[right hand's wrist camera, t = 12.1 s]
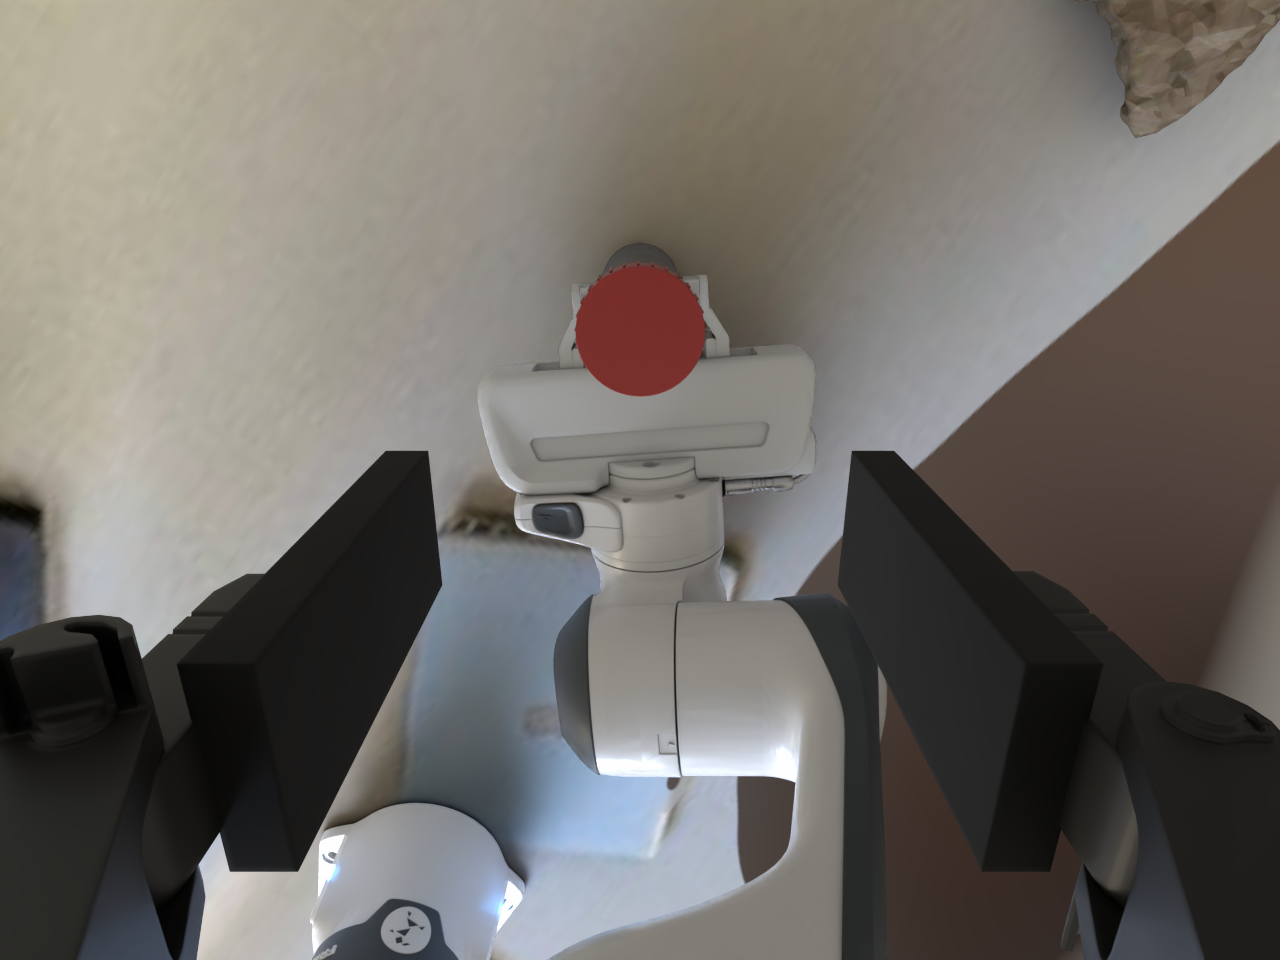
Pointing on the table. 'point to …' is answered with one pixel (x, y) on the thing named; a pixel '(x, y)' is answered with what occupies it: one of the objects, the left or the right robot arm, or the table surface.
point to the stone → (1180, 51)
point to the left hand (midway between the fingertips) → (638, 280)
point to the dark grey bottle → (639, 257)
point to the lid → (640, 329)
